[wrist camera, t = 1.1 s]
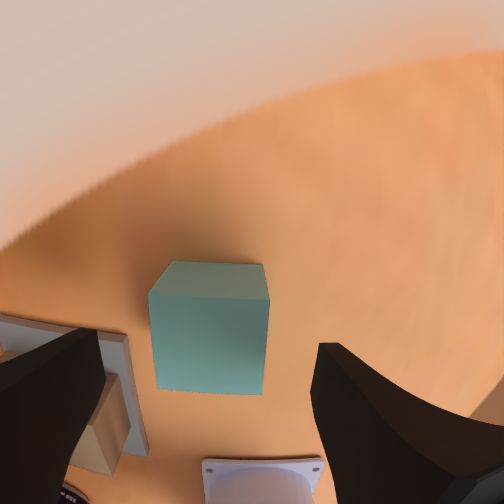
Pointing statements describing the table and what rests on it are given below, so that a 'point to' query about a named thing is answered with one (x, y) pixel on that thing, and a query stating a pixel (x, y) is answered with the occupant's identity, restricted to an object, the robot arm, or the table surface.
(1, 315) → the plate
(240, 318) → the cube
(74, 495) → the beverage can
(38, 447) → the robot arm
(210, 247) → the table surface
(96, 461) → the walnut brick
